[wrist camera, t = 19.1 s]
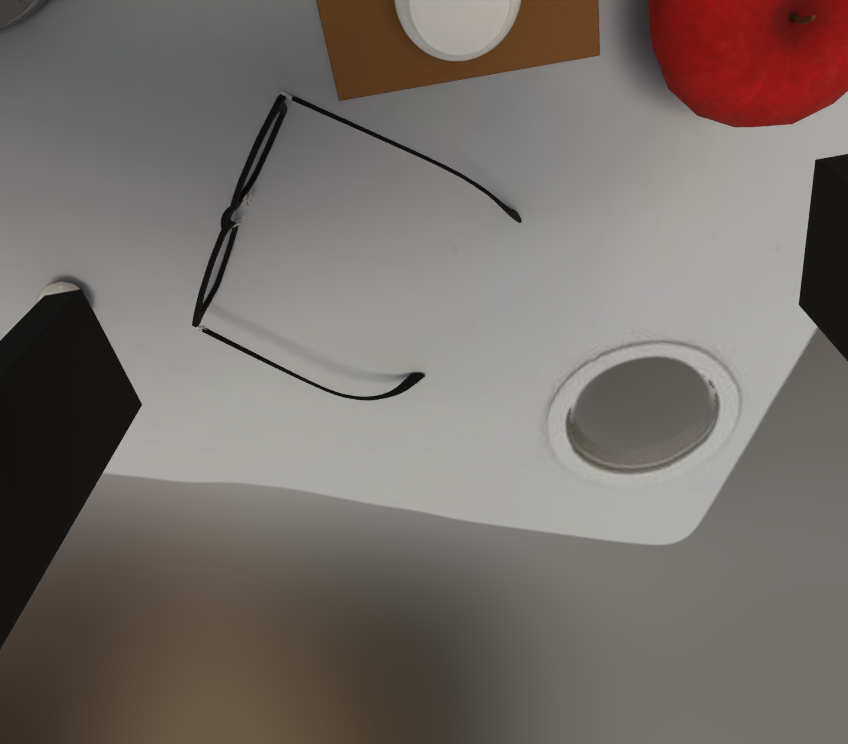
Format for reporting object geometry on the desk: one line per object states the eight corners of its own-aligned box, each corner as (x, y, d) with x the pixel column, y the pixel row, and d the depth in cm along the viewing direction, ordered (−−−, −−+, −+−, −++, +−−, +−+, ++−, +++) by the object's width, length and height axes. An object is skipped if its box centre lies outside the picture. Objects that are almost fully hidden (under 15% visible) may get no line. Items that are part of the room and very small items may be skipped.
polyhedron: (105, 296, 46) (85, 319, 44) (77, 321, 47) (57, 345, 45) (68, 265, 45) (46, 287, 42) (41, 291, 46) (18, 314, 43)
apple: (579, 6, 36) (626, 44, 27) (733, -183, 32) (849, -211, 23) (706, 129, 39) (785, 200, 30) (861, -27, 35) (1006, 3, 26)
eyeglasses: (285, 62, 38) (270, 78, 34) (537, 193, 42) (546, 219, 38) (196, 303, 46) (177, 335, 43) (413, 394, 50) (411, 430, 47)
